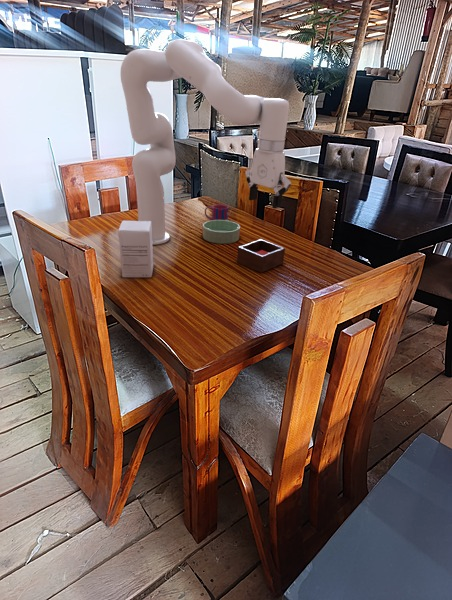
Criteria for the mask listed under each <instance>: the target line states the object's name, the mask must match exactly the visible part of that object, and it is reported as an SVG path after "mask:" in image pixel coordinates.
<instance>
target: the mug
mask: <svg viewBox="0 0 452 600" xmlns="http://www.w3.org/2000/svg"><path fill="white" fill-rule="evenodd" d="M208 209H211V212H212V213H211V215H212V216H208V214H207V210H208ZM229 210H230V207H229V206H228V205H226V204H214V205H212V206H206V207H205V209H204V215H205V217H206V218H207V219H209V220H210V221H211V220H228V221H229Z"/></svg>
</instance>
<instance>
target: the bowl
mask: <svg viewBox="0 0 452 600" xmlns="http://www.w3.org/2000/svg"><path fill="white" fill-rule="evenodd" d="M201 229H202V239H203V240H205V241H206V242H209V243H213V244H225V245H226V244H233V243H236V242H237V241H239V240H240V237H241V236H240V235H241V234H240V233H241V225H240V224H239V223H237V222H235V221H233V220H229V219H228V220H211V219H210V220H207V221H205V222H203V223H202V228H201Z"/></svg>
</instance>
